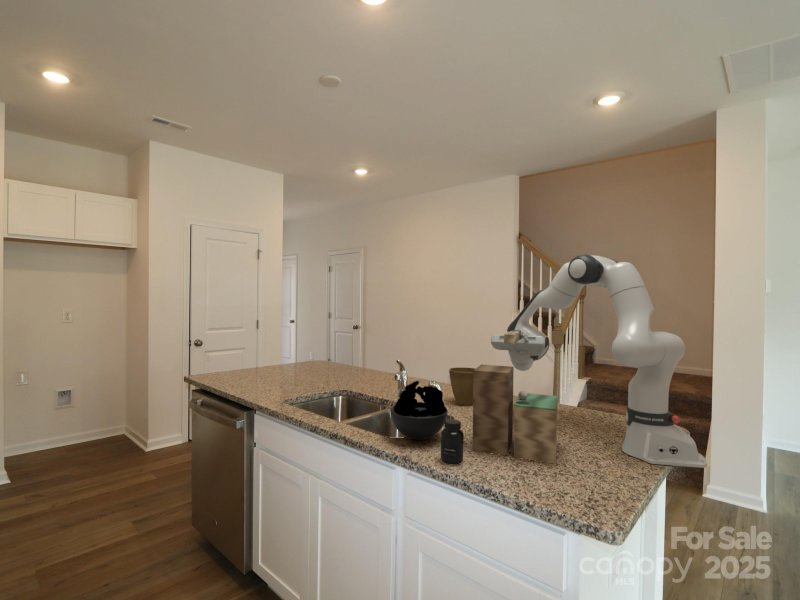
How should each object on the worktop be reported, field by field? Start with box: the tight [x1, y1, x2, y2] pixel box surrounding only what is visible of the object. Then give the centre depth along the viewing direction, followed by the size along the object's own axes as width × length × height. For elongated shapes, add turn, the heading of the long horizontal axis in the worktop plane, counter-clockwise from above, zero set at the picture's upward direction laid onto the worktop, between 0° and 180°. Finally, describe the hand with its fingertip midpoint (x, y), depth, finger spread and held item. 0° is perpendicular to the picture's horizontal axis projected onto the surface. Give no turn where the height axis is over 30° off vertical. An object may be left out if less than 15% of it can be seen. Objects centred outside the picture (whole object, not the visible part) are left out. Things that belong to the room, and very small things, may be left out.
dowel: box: [503, 330, 521, 344], centre depth 147 cm, size 3×22×3 cm, turn 158°
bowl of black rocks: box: [389, 380, 448, 441], centre depth 145 cm, size 20×20×19 cm
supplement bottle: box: [440, 418, 465, 465], centre depth 125 cm, size 7×7×12 cm
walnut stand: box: [471, 364, 515, 456], centre depth 137 cm, size 11×13×26 cm
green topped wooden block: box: [513, 390, 558, 465], centre depth 134 cm, size 12×18×19 cm, turn 158°
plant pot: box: [448, 366, 476, 407], centre depth 193 cm, size 15×15×16 cm
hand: (515, 333), depth 155 cm, fingers closed on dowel, 3 cm apart
